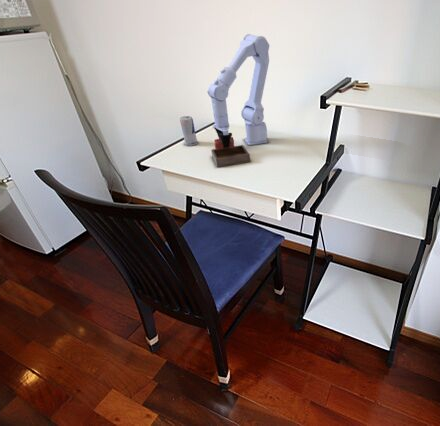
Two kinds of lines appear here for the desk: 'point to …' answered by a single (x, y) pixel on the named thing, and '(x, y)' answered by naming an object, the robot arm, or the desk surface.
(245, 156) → the crate
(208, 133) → the desk surface
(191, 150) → the desk surface
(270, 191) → the desk surface
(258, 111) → the robot arm
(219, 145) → the red block
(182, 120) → the energy drink
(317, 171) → the desk surface
